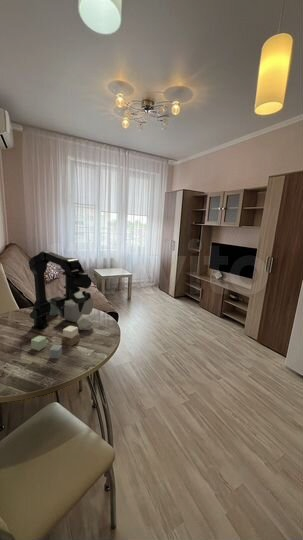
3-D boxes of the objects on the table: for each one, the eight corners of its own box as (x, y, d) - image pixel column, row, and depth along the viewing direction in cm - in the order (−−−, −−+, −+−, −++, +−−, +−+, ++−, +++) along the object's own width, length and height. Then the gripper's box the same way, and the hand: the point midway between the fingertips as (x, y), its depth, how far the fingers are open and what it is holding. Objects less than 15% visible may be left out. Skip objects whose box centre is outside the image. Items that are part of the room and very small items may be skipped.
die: (84, 335, 120) (95, 319, 121) (71, 326, 120) (82, 310, 122) (88, 333, 128) (99, 318, 130) (76, 324, 129) (86, 310, 130)
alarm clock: (81, 310, 151) (81, 292, 148) (93, 313, 148) (93, 294, 145) (58, 322, 132) (58, 301, 129) (71, 325, 129) (71, 304, 126)
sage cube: (31, 348, 104) (31, 339, 103) (39, 343, 108) (39, 335, 107) (39, 350, 103) (38, 342, 102) (46, 346, 107) (46, 337, 106)
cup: (43, 315, 140) (43, 300, 138) (53, 311, 147) (52, 297, 145) (53, 318, 137) (52, 302, 135) (62, 313, 144) (62, 299, 142)
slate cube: (49, 358, 98) (49, 350, 97) (53, 353, 102) (53, 345, 101) (58, 358, 98) (58, 350, 97) (62, 353, 102) (62, 345, 101)
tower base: (61, 343, 110) (61, 336, 109) (70, 338, 115) (69, 331, 114) (71, 346, 108) (71, 339, 107) (79, 340, 113) (79, 333, 112)
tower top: (63, 336, 109) (62, 329, 108) (70, 331, 114) (69, 325, 113) (71, 338, 108) (71, 331, 107) (78, 333, 112) (77, 327, 111)
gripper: (62, 292, 96) (62, 325, 99) (97, 285, 110) (97, 314, 113) (49, 286, 102) (50, 317, 106) (84, 280, 117) (84, 308, 120)
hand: (71, 314), depth 111 cm, fingers open, 9 cm apart
